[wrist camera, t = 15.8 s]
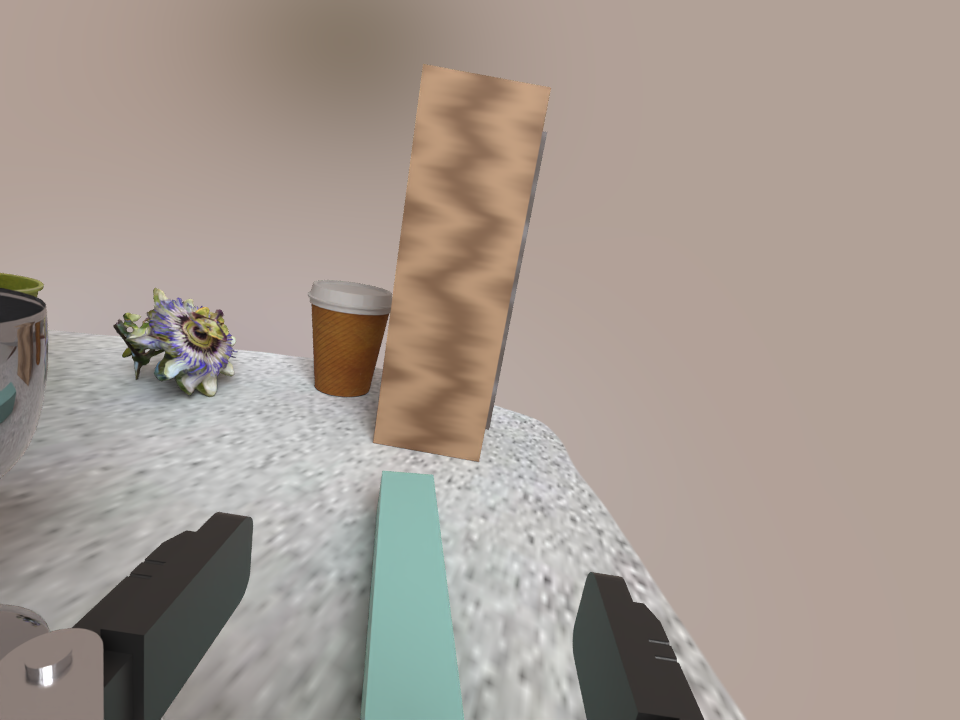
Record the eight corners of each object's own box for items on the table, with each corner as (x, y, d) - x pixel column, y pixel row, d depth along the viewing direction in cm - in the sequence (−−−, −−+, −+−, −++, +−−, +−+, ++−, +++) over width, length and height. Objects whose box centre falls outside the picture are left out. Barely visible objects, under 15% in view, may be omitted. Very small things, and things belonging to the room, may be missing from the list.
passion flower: (204, 443, 51) (189, 377, 42) (97, 408, 50) (58, 333, 41) (257, 363, 58) (253, 293, 50) (165, 332, 57) (144, 254, 48)
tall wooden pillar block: (373, 442, 46) (423, 64, 38) (399, 399, 58) (441, 105, 50) (483, 462, 46) (556, 88, 38) (486, 415, 58) (542, 124, 50)
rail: (332, 1052, 13) (347, 962, 12) (376, 515, 35) (382, 470, 35) (469, 1032, 13) (492, 946, 12) (425, 518, 36) (433, 474, 35)
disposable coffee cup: (355, 409, 53) (368, 299, 50) (281, 387, 55) (289, 281, 52) (396, 388, 61) (410, 293, 58) (331, 369, 64) (341, 278, 61)
